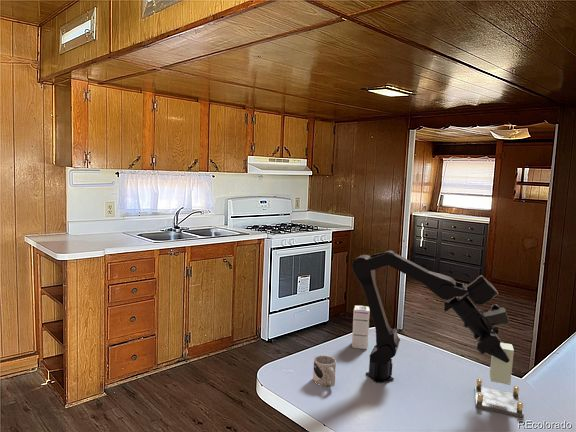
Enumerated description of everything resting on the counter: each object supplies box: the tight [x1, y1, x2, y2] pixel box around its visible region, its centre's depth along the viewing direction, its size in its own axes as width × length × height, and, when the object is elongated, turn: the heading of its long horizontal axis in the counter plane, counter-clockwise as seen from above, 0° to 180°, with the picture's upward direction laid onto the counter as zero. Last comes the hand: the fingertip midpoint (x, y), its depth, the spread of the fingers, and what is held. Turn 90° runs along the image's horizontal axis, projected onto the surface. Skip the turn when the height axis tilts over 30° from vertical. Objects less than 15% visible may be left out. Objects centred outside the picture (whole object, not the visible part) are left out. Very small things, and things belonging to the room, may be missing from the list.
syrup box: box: [351, 305, 370, 350], centre depth 165 cm, size 6×6×14 cm
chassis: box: [474, 378, 525, 419], centre depth 128 cm, size 12×12×3 cm
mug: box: [312, 355, 337, 388], centre depth 135 cm, size 10×7×7 cm
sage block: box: [489, 341, 515, 386], centre depth 127 cm, size 5×5×10 cm
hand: (507, 358), depth 127 cm, fingers closed on sage block, 5 cm apart
